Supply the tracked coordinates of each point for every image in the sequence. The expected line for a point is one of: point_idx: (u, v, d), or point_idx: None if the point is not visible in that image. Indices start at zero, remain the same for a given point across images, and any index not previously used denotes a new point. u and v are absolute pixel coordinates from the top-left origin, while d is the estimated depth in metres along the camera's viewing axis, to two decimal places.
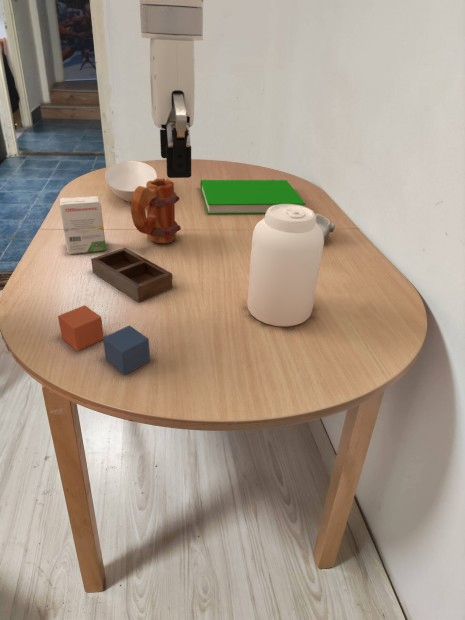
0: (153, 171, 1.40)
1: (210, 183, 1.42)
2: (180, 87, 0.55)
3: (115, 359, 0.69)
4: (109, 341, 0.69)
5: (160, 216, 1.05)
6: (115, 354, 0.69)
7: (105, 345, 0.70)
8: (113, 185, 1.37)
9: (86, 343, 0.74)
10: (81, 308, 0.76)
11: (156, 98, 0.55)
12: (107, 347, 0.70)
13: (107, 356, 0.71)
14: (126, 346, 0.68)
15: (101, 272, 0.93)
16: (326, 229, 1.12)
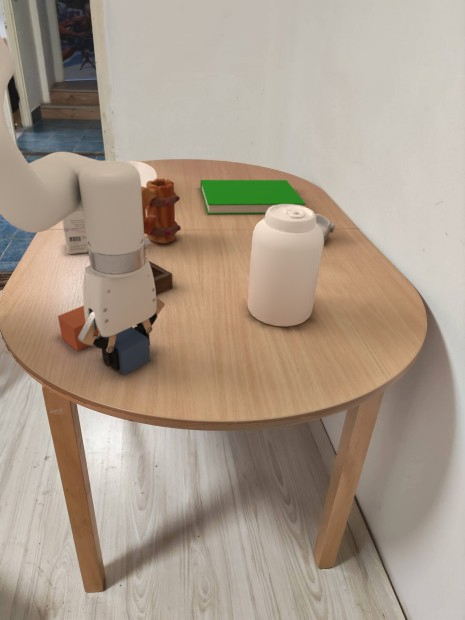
0: (153, 171, 1.40)
1: (210, 183, 1.42)
2: (92, 308, 0.62)
3: None
4: None
5: (160, 216, 1.05)
6: None
7: None
8: None
9: None
10: (81, 308, 0.76)
11: None
12: None
13: None
14: (126, 346, 0.68)
15: None
16: (326, 229, 1.12)
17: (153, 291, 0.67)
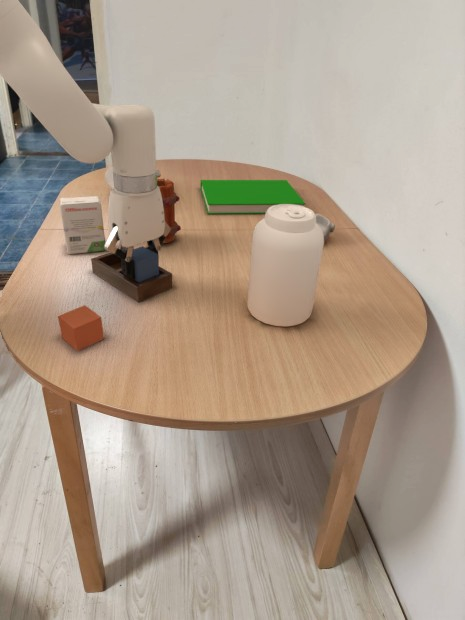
0: None
1: (210, 183, 1.42)
2: (115, 222, 0.80)
3: None
4: None
5: None
6: None
7: None
8: (113, 185, 1.37)
9: (86, 343, 0.74)
10: (81, 308, 0.76)
11: None
12: None
13: None
14: (140, 258, 0.86)
15: (101, 272, 0.93)
16: (326, 229, 1.12)
17: (162, 214, 0.85)
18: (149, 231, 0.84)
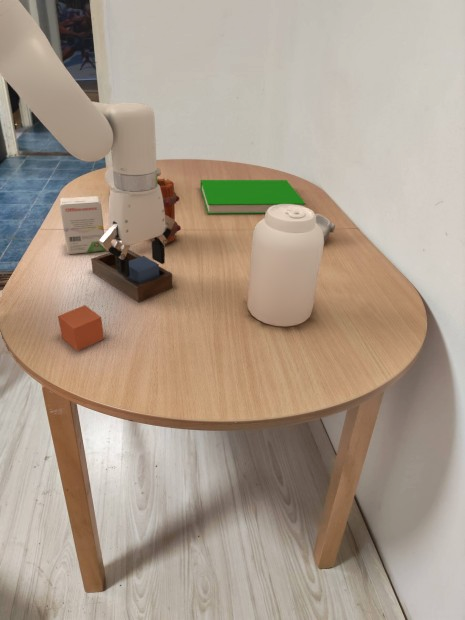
0: None
1: (210, 183, 1.42)
2: (116, 220, 0.80)
3: (133, 280, 0.89)
4: None
5: None
6: (133, 275, 0.88)
7: None
8: (113, 185, 1.37)
9: (86, 343, 0.74)
10: (81, 308, 0.76)
11: None
12: None
13: None
14: (141, 268, 0.87)
15: (101, 272, 0.93)
16: (326, 229, 1.12)
17: (163, 212, 0.85)
18: (149, 229, 0.84)
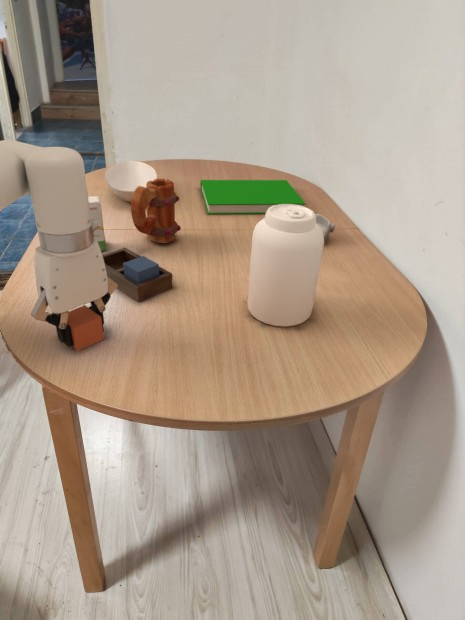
0: (153, 171, 1.40)
1: (210, 183, 1.42)
2: (43, 285, 0.67)
3: (133, 280, 0.89)
4: (128, 265, 0.88)
5: (160, 216, 1.05)
6: (133, 275, 0.88)
7: (124, 269, 0.89)
8: (113, 185, 1.37)
9: (86, 343, 0.74)
10: (81, 308, 0.76)
11: None
12: (126, 271, 0.89)
13: None
14: (141, 268, 0.87)
15: None
16: (326, 229, 1.12)
17: (103, 271, 0.72)
18: (87, 293, 0.71)
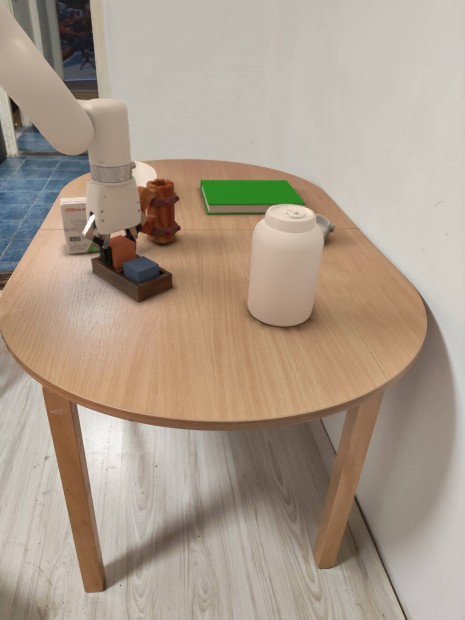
0: (153, 171, 1.40)
1: (210, 183, 1.42)
2: (92, 210, 0.85)
3: (133, 280, 0.89)
4: (128, 265, 0.88)
5: (160, 216, 1.05)
6: (133, 275, 0.88)
7: (124, 269, 0.89)
8: None
9: None
10: (118, 236, 0.94)
11: None
12: (126, 271, 0.89)
13: None
14: (141, 268, 0.87)
15: (101, 272, 0.93)
16: (326, 229, 1.12)
17: (138, 203, 0.89)
18: (125, 220, 0.89)
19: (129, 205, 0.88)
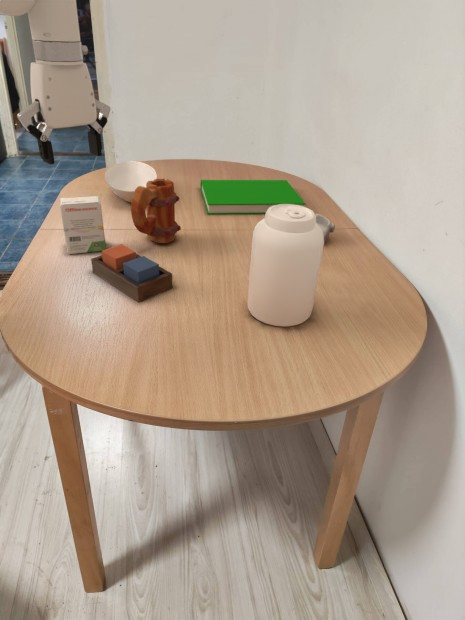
0: (153, 171, 1.40)
1: (210, 183, 1.42)
2: (37, 97, 0.75)
3: (133, 280, 0.89)
4: (128, 265, 0.88)
5: (160, 216, 1.05)
6: (133, 275, 0.88)
7: (124, 269, 0.89)
8: (113, 185, 1.37)
9: None
10: (119, 246, 0.95)
11: None
12: (126, 271, 0.89)
13: None
14: (141, 268, 0.87)
15: (101, 272, 0.93)
16: (326, 229, 1.12)
17: (92, 96, 0.80)
18: (77, 113, 0.79)
19: (81, 95, 0.78)
